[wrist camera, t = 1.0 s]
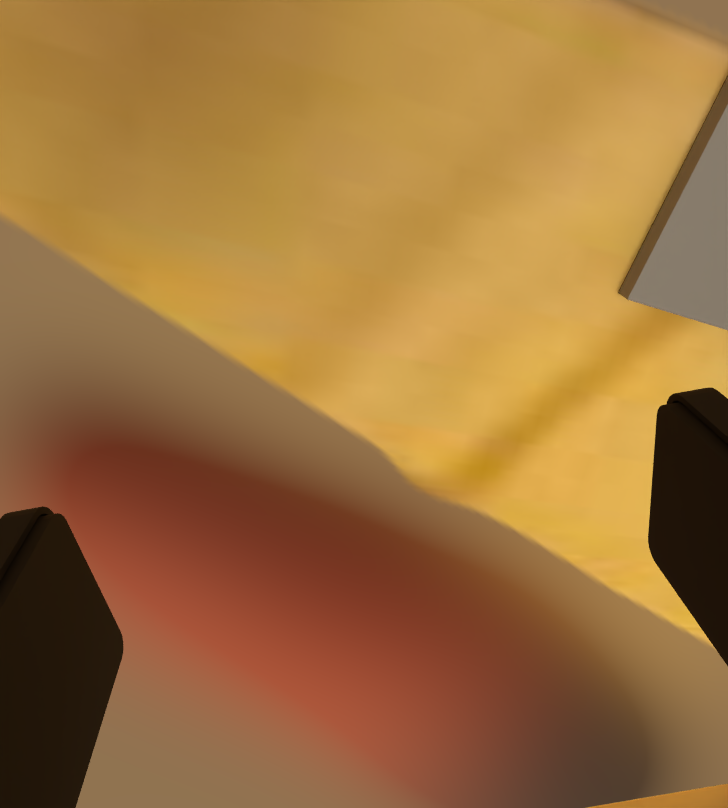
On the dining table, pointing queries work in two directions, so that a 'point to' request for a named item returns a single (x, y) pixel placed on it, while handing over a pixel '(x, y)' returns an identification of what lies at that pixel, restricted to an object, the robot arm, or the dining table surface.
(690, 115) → the dining table surface
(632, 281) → the shaft block
